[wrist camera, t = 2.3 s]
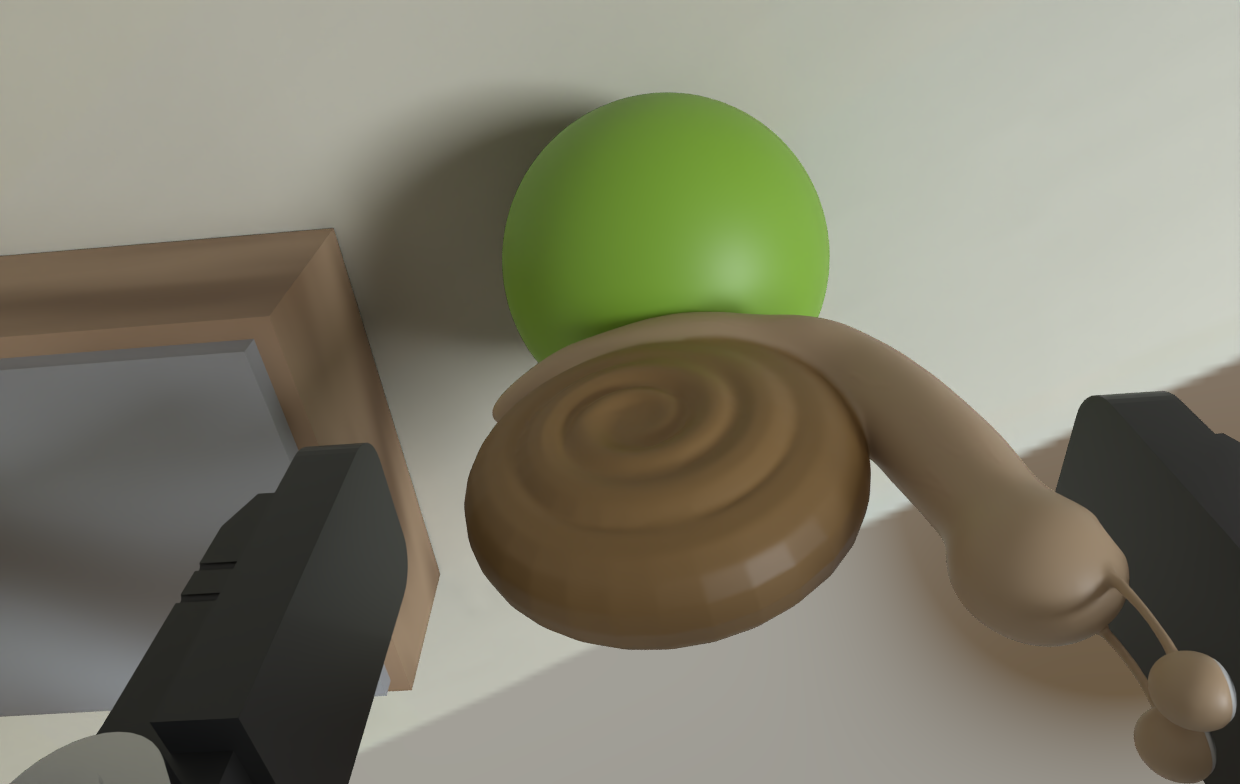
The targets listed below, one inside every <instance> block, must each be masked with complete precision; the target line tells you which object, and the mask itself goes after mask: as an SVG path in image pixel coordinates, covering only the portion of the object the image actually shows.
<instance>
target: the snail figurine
mask: <svg viewBox="0 0 1240 784" xmlns="http://www.w3.org/2000/svg"><path fill="white" fill-rule="evenodd" d="M502 271H503V281H504V288H505V293H506V297H507V302H508V305H509V309H510V312H511V315H512V317H513V320H514V323H515V325H516V327H517V329H518V332H519V334H520V336H521V338H522V339H523V341H524V343H525V345H526V346H527V348H528V350H529V351H530V353H531V354H532V355H533V357H534V358H535V360H536V361H537V362H538V364H537V365H535V366H534V367H533V368H531V369H530V370H529V371H528V372H526V373H525V374H524V375H523V376H521V377H520V378H519V379H518V380H517V381H515V382H514V383H513V384H512V385H511V386H510V387H509V388H508V389H507V390H506V391H505V392H504V393H503V394H502V395H501V397H500V398H499V399H498V401H497V402H496V404H495V406H494V408H493V418H494V419H495V421H496V422H498V423H497V424H496V425H495V427H494V428H493V429H492V431H491V432H490V434H489V435H488V436H487V438H486V439H485V441H484V442H483V444H482V446H481V448H480V450H479V452H478V454H477V457H476V459H475V461H474V464H473V466H472V469H471V471H470V474H469V477H468V482H467V489H466V495H465V503H464V509H465V518H466V525H467V532H468V538H469V542H470V545H471V548H472V551H473V553H474V555H475V557H476V559H477V562H478V564H479V566H480V568H481V570H482V572H483V573H484V575H485V576H486V577H487V579H488V580H489V581H490V582H491V584H492V585H493V586H494V587H495V588H496V589H497V591H498V592H499V593H500V594H501V595H502V596H503V597H504V598H505V600H506V601H507V602H508V603H509V604H510V605H511V606H512V607H514V608H515V609H516V610H518V611H519V612H521V613H522V614H524V615H525V616H527V617H528V618H530V619H531V620H533V621H534V622H536V623H537V624H539V625H541V626H543V627H545V628H547V629H549V630H552V631H554V632H557V633H559V634H562V635H565V636H567V637H570V638H573V639H575V640H578V641H582V642H586V643H591V644H596V645H602V646H608V647H614V648H620V649H628V650H649V649H650V650H658V649H659V650H662V649H676V648H682V647H688V646H693V645H699V644H705V643H711V642H715V641H718V640H721V639H724V638H727V637H730V636H733V635H736V634H739V633H741V632H745V631H747V630H750V629H753V628H755V627H758V626H759V625H761V624H763V623H765V622H767V621H768V620H770V619H772V618H774V617H776V616H777V615H779V614H781V613H783V612H785V611H786V610H788V609H790V608H791V607H793V606H795V605H796V604H797V603H799V602H800V601H801V600H803V599H804V598H805V597H806V596H807V595H808V594H809V593H811V592H812V591H813V590H814V589H816V588H817V587H818V586H819V585H820V584H821V583H822V582H824V581H825V580H826V579H827V578H828V577H829V576H831V574H832V573H833V572H834V571H835V569H836V568H837V567H838V565H839V564H840V563H841V561H842V560H843V558H844V557H845V556H846V554H847V553H848V552H849V550H850V549H851V548H852V546H853V544H854V542H855V540H856V537H857V535H858V532H859V530H860V527H861V524H862V522H863V519H864V517H865V514H866V510H867V506H868V502H869V496H870V480H871V468H870V460H869V459H871V460H872V461H873V462H874V463H875V464H876V465H877V466H878V467H879V468H880V469H881V470H882V471H883V472H884V473H885V474H886V475H887V477H888V478H889V479H890V480H891V481H892V482H893V483H894V484H895V485H896V486H897V488H898V489H899V490H900V491H901V492H902V493H903V494H904V495H905V496H906V497H907V498H908V499H909V501H910V502H911V503H912V504H913V505H914V506H915V507H916V508H917V509H918V510H919V512H920V513H921V514H922V515H923V516H924V517H925V519H926V520H927V521H928V522H929V523H930V524H931V526H932V527H933V528H934V529H935V530H936V531H937V533H938V534H939V535H940V536H941V538H942V540H943V541H944V544H945V548H946V563H947V570H948V575H949V579H950V582H951V584H952V587H953V589H954V591H955V593H956V595H957V597H958V598H959V600H960V601H961V603H962V604H963V605H964V607H965V608H966V609H967V610H968V611H969V612H970V613H971V614H972V615H973V616H974V617H975V618H976V619H977V620H978V621H980V622H981V623H982V624H984V625H985V626H987V627H989V628H990V629H992V630H993V631H995V632H997V633H999V634H1001V635H1003V636H1005V637H1007V638H1010V639H1012V640H1015V641H1018V642H1021V643H1025V644H1030V645H1035V646H1062V645H1068V644H1073V643H1076V642H1079V641H1082V640H1084V639H1087V638H1089V637H1091V636H1093V635H1095V634H1098V635H1100V636H1101V637H1103V638H1104V639H1105V640H1106V641H1107V642H1108V644H1109V645H1110V646H1111V647H1112V648H1113V649H1114V650H1115V651H1116V652H1117V653H1118V655H1119V656H1120V657H1121V659H1122V660H1123V661H1124V662H1125V663H1126V665H1127V666H1128V668H1129V669H1130V671H1131V672H1132V673H1133V675H1134V676H1135V678H1136V679H1137V681H1138V683H1139V684H1140V686H1141V688H1142V689H1143V691H1144V693H1145V695H1146V697H1147V699H1148V701H1149V703H1150V705H1151V707H1152V708H1151V709H1149V710H1147V711H1146V712H1145V713H1143V714H1142V715H1141V717H1140V718H1139V719H1138V721H1137V723H1136V725H1135V730H1134V742H1135V746H1136V749H1137V751H1138V753H1139V755H1140V757H1141V759H1142V760H1143V761H1144V763H1146V765H1147V766H1148V767H1149V768H1150V769H1151V770H1153V771H1154V772H1155V773H1157V774H1158V775H1160V776H1161V777H1163V778H1165V779H1168V780H1171V781H1174V782H1178V783H1196V782H1200V781H1202V780H1204V779H1206V778H1207V777H1208V776H1209V775H1210V774H1211V773H1212V772H1213V770H1214V768H1215V765H1216V759H1217V753H1216V746H1215V742H1214V738H1213V736H1212V734H1211V731H1216V730H1219V729H1222V728H1223V727H1225V726H1226V725H1227V724H1228V723H1229V722H1230V721H1231V720H1232V719H1233V718H1234V716H1235V713H1236V707H1237V698H1236V692H1235V688H1234V684H1233V682H1232V680H1231V678H1230V676H1229V674H1228V673H1227V671H1226V670H1225V669H1224V667H1223V666H1222V665H1221V664H1220V663H1219V662H1218V661H1216V660H1215V659H1213V658H1211V657H1210V656H1208V655H1206V654H1203V653H1200V652H1196V651H1178V650H1177V648H1176V647H1175V645H1174V643H1173V642H1172V640H1171V639H1170V637H1169V636H1168V634H1167V633H1166V632H1165V630H1164V629H1163V628H1162V626H1161V625H1160V624H1159V622H1158V621H1157V619H1156V618H1155V617H1154V615H1153V614H1152V613H1151V611H1150V610H1149V609H1148V608H1147V606H1146V605H1145V604H1144V603H1143V602H1142V600H1141V599H1140V598H1139V597H1138V596H1137V595H1136V593H1135V592H1134V591H1133V590H1132V589H1131V588H1130V587H1129V567H1128V563H1127V559H1126V557H1125V555H1124V554H1123V552H1122V551H1121V550H1120V548H1119V547H1118V546H1117V545H1116V543H1115V542H1114V541H1113V540H1112V538H1111V537H1110V536H1109V535H1108V533H1107V532H1106V531H1105V529H1104V528H1103V526H1102V525H1101V524H1100V522H1099V521H1098V519H1097V518H1096V516H1095V515H1094V514H1093V513H1092V512H1090V511H1089V510H1088V509H1086V508H1085V507H1083V506H1081V505H1079V504H1078V503H1076V502H1074V501H1072V500H1070V499H1068V498H1066V497H1064V496H1062V495H1060V494H1058V493H1056V492H1055V491H1053V490H1051V489H1050V488H1048V487H1047V486H1046V485H1044V484H1043V483H1042V482H1041V481H1040V480H1039V479H1038V478H1037V477H1036V476H1035V475H1034V474H1033V473H1032V472H1031V471H1030V470H1029V468H1028V467H1027V466H1026V465H1025V464H1024V462H1023V461H1022V460H1021V459H1020V457H1019V456H1018V455H1017V454H1016V452H1015V451H1014V450H1013V449H1012V448H1011V446H1010V445H1009V444H1008V443H1007V442H1006V441H1005V439H1004V438H1003V437H1002V436H1001V435H1000V434H999V433H998V432H997V431H996V430H995V429H994V428H993V427H992V426H991V425H990V424H989V423H988V422H987V421H986V420H985V419H984V418H983V417H981V416H980V415H979V414H978V413H977V412H976V411H975V410H974V409H973V408H972V407H970V406H969V405H968V404H967V403H966V402H965V401H964V400H963V399H961V398H960V397H959V396H958V395H957V394H956V393H954V392H953V391H952V390H951V389H950V388H949V387H947V386H946V385H945V384H944V383H943V382H941V381H940V380H939V379H938V378H936V377H935V376H934V375H932V374H931V373H930V372H928V371H927V370H926V369H924V368H923V367H921V366H920V365H918V364H917V363H916V362H914V361H913V360H911V359H910V358H908V357H907V356H905V355H904V354H902V353H901V352H899V351H897V350H896V349H894V348H892V347H891V346H889V345H887V344H885V343H883V342H881V341H879V340H877V339H875V338H873V337H871V336H869V335H867V334H865V333H863V332H861V331H859V330H857V329H854V328H852V327H850V326H847V325H845V324H842V323H839V322H835V321H832V320H828V319H823V318H818V316H819V314H820V311H821V308H822V304H823V301H824V297H825V293H826V288H827V282H828V275H829V239H828V231H827V226H826V221H825V216H824V212H823V209H822V206H821V203H820V200H819V197H818V195H817V192H816V190H815V188H814V186H813V183H812V181H811V180H810V178H809V176H808V174H807V172H806V171H805V169H804V167H803V166H802V164H801V163H800V161H799V160H798V159H797V157H796V156H795V155H794V153H793V152H792V151H791V150H790V149H789V148H788V146H787V145H786V144H785V143H784V142H783V141H782V140H781V139H780V138H779V137H778V136H777V135H776V134H775V133H773V132H772V131H771V130H770V129H769V128H767V127H766V126H765V125H764V124H762V123H761V122H759V121H758V120H756V119H755V118H753V117H752V116H750V115H748V114H747V113H745V112H743V111H741V110H739V109H737V108H735V107H733V106H731V105H728V104H726V103H723V102H720V101H717V100H714V99H710V98H707V97H702V96H698V95H692V94H684V93H650V94H642V95H637V96H632V97H628V98H624V99H620V100H617V101H614V102H611V103H609V104H606V105H604V106H601V107H599V108H597V109H595V110H593V111H591V112H589V113H587V114H586V115H584V116H582V117H581V118H579V119H578V120H576V121H575V122H573V123H572V124H570V125H569V126H568V127H566V128H565V129H564V130H563V131H561V132H560V133H559V134H558V135H557V136H556V137H555V138H554V139H553V140H552V141H551V142H550V143H549V144H548V145H547V146H546V147H545V148H544V149H543V150H542V152H541V153H540V154H539V155H538V156H537V158H536V159H535V161H534V162H533V163H532V165H531V166H530V168H529V169H528V171H527V172H526V174H525V176H524V178H523V179H522V181H521V183H520V185H519V187H518V189H517V192H516V194H515V196H514V199H513V202H512V204H511V207H510V210H509V214H508V218H507V222H506V226H505V231H504V238H503V248H502ZM1126 599H1127V600H1128V601H1129V602H1130V603H1131V604H1132V605H1133V606H1134V607H1135V608H1136V609H1137V610H1138V611H1139V613H1140V614H1141V615H1142V616H1143V618H1144V619H1145V620H1146V621H1147V623H1148V624H1149V626H1150V627H1151V628H1152V630H1153V632H1154V633H1155V635H1156V636H1157V638H1158V639H1159V641H1160V643H1161V645H1162V646H1163V648H1164V650H1165V652H1166V655H1164V656H1163V657H1161V658H1160V659H1158V660H1157V661H1156V662H1155V664H1154V665H1153V666H1152V668H1151V670H1150V672H1149V676H1148V680H1147V678H1146V677H1145V675H1144V674H1143V672H1142V671H1141V669H1140V667H1139V666H1138V665H1137V663H1136V662H1135V660H1134V659H1133V658H1132V657H1131V655H1130V654H1129V653H1128V651H1127V650H1126V649H1125V647H1124V646H1123V645H1122V643H1121V642H1120V641H1119V640H1118V639H1117V637H1116V636H1115V635H1114V634H1113V633H1112V632H1111V631H1110V629H1109V627H1108V624H1109V623H1110V622H1112V620H1113V619H1114V618H1115V617H1116V616H1117V615H1118V613H1119V612H1120V610H1121V609H1122V607H1123V605H1124V602H1125V600H1126Z"/></svg>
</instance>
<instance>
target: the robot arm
mask: <svg viewBox="0 0 1240 784" xmlns="http://www.w3.org/2000/svg"><path fill="white" fill-rule="evenodd" d="M1055 492H1056V493H1058V494H1060V495H1062V496H1064V497H1066V498H1068V499H1070V500H1072V501H1074V502H1076V503H1078V504H1079V505H1081V506H1083V507H1085V508H1086V509H1088V510H1089V511H1090V512H1092V513H1093V514H1094V515H1095V516H1096V518H1097V519H1098V521H1099V522H1100V524H1101V525H1102V526H1103V528H1104V529H1105V531H1106V532H1107V533H1108V535H1109V536H1110V537H1111V538H1112V540H1113V541H1114V542H1115V543H1116V545H1117V546H1118V547H1119V548H1120V550H1121V551H1122V552H1123V554H1124V555H1125V557H1126V559H1127V563H1128V567H1129V587H1130V588H1131V589H1132V590H1133V591H1134V592H1135V593H1136V595H1137V596H1138V597H1139V598H1140V599H1141V600H1142V602H1143V603H1144V604H1145V605H1146V606H1147V608H1148V609H1149V610H1150V611H1151V613H1152V614H1153V615H1154V617H1155V618H1156V619H1157V621H1158V622H1159V624H1160V625H1161V626H1162V628H1163V629H1164V630H1165V632H1166V633H1167V634H1168V636H1169V637H1170V639H1171V640H1172V642H1173V643H1174V645H1175V647H1176V648H1177V650H1178V651H1196V652H1200V653H1203V654H1206V655H1208V656H1210V657H1211V658H1213V659H1215V660H1216V661H1218V662H1219V663H1220V664H1221V665H1222V666H1223V667H1224V669H1225V670H1226V671H1227V673H1228V674H1229V676H1230V678H1231V680H1232V682H1233V684H1234V688H1235V692H1236V698H1237V707H1236V713H1235V716H1234V718H1233V719H1232V720H1231V721H1230V722H1229V723H1228V724H1227V725H1226V726H1225V727H1223V728H1222V729H1219V730H1216V731H1211V734H1212V736H1213V738H1214V742H1215V746H1216V753H1217V759H1216V765H1215V768H1214V770H1213V772H1212V773H1211V774H1210V775H1209V776H1208V777H1207V778H1206V779H1204V780H1203V781H1204V783H1205V784H1240V442H1238V441H1236V440H1235V439H1233V438H1231V437H1229V436H1227V435H1226V434H1224V433H1222V434H1215V433H1214V432H1213V431H1211V430H1210V429H1209V428H1208V427H1207V426H1206V425H1205V424H1204V423H1203V422H1202V421H1201V420H1200V419H1199V418H1198V417H1197V416H1196V415H1195V414H1194V413H1193V412H1192V411H1191V410H1190V409H1189V408H1188V407H1187V406H1186V405H1185V404H1184V403H1183V402H1182V401H1181V400H1179V399H1178V398H1177V397H1176V396H1175V395H1173V394H1171V393H1169V392H1166V391H1155V392H1140V393H1125V394H1111V395H1096V396H1091V397H1088V398H1087V399H1086V400H1084V402H1083V403H1082V404H1081V406H1080V408H1079V410H1078V413H1077V416H1076V419H1075V423H1074V426H1073V430H1072V434H1071V437H1070V441H1069V444H1068V448H1067V452H1066V455H1065V459H1064V462H1063V466H1062V470H1061V473H1060V477H1059V480H1058V484H1057V487H1056V491H1055ZM199 565H200V569H199V571H194V573H193V575H192V576H191V578H190V580H189V581H188V583H187V585H186V586H185V588H184V590H183V591H182V593H181V602H180V603H175V605H174V606H173V608H172V610H171V611H170V613H169V615H168V617H167V618H166V620H165V622H164V623H163V625H162V627H161V628H160V630H159V632H158V633H157V635H156V637H155V638H154V640H153V642H152V643H151V645H150V647H149V648H148V650H147V652H146V653H145V655H144V657H143V658H142V660H141V662H140V663H139V665H138V667H137V668H136V670H135V672H134V673H133V675H132V677H131V678H130V680H129V682H128V683H127V685H126V687H125V688H124V690H123V692H122V694H121V695H120V697H119V699H118V700H117V702H116V704H115V705H114V707H113V709H112V710H111V712H110V714H109V715H108V717H107V719H106V720H105V722H104V724H103V725H102V727H101V728H100V730H99V731H98V733H97V734H96V735H93V736H89V737H86V738H83V739H80V740H78V741H75V742H72V743H70V744H68V745H66V746H64V747H62V748H60V749H57V750H56V751H54V752H52V753H51V754H49V755H47V756H46V757H44V758H42V759H40V760H39V761H38V762H36V763H35V764H34V765H32V766H31V767H29V768H28V769H27V770H25V771H24V772H23V773H22V774H20V775H19V776H18V777H17V778H16V779H15V780H14V781H12V782H11V783H10V784H348V783H349V780H350V776H351V773H352V770H353V766H354V763H355V760H356V756H357V753H358V749H359V746H360V743H361V739H362V736H363V733H364V729H365V726H366V722H367V719H368V716H369V712H370V709H371V705H372V702H373V699H374V695H375V692H376V688H377V685H378V682H379V678H380V675H381V671H382V668H383V665H384V661H385V658H386V654H387V651H388V648H389V644H390V641H391V638H392V634H393V631H394V627H395V624H396V621H397V617H398V614H399V610H400V607H401V604H402V600H403V597H404V593H405V589H406V584H407V575H408V556H407V547H406V542H405V538H404V534H403V531H402V528H401V525H400V522H399V519H398V515H397V512H396V509H395V506H394V503H393V500H392V496H391V493H390V490H389V487H388V484H387V481H386V477H385V474H384V471H383V468H382V465H381V462H380V459H379V456H378V453H377V451H376V450H375V448H374V447H373V446H372V445H371V444H370V443H354V444H339V445H325V446H310V447H303V448H301V449H300V450H299V451H298V452H297V453H296V455H295V456H294V458H293V460H292V462H291V464H290V466H289V467H288V469H287V471H286V473H285V475H284V477H283V478H282V480H281V482H280V484H279V486H278V488H277V489H276V491H275V493H260V494H257V495H256V496H255V497H254V498H253V499H251V500H250V501H249V502H248V503H247V504H246V505H245V506H244V507H242V508H241V509H240V510H239V511H238V512H237V513H236V514H235V515H234V516H232V517H231V518H230V519H229V520H228V521H227V522H226V523H225V524H223V525H222V526H221V528H220V529H219V531H218V533H217V534H216V536H215V538H214V540H213V541H212V543H211V545H210V546H209V548H208V550H207V551H206V553H205V555H204V556H203V558H202V560H201V561H200V563H199ZM1108 627H1109V629H1110V631H1111V632H1112V633H1113V634H1114V635H1115V636H1116V637H1117V639H1118V640H1119V641H1120V642H1121V643H1122V645H1123V646H1124V647H1125V649H1126V650H1127V651H1128V653H1129V654H1130V655H1131V657H1132V658H1133V659H1134V660H1135V662H1136V663H1137V665H1138V666H1139V667H1140V669H1141V671H1142V672H1143V674H1144V675H1145V677H1146V678H1147V680H1148V676H1149V672H1150V670H1151V668H1152V666H1153V665H1154V664H1155V662H1156V661H1157V660H1158V659H1160V658H1161V657H1163V656H1164V655H1166V652H1165V650H1164V648H1163V646H1162V645H1161V643H1160V641H1159V639H1158V638H1157V636H1156V635H1155V633H1154V632H1153V630H1152V628H1151V627H1150V626H1149V624H1148V623H1147V621H1146V620H1145V619H1144V618H1143V616H1142V615H1141V614H1140V613H1139V611H1138V610H1137V609H1136V608H1135V607H1134V606H1133V605H1132V604H1131V603H1130V602H1129V601H1128V600H1127V599H1126V600H1125V602H1124V605H1123V607H1122V609H1121V610H1120V612H1119V613H1118V615H1117V616H1116V617H1115V618H1114V619H1113V620H1112V622H1110V623H1109V624H1108Z"/></svg>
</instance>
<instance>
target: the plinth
mask: <svg viewBox="0 0 1240 784" xmlns="http://www.w3.org/2000/svg"><path fill="white" fill-rule="evenodd" d="M354 443H370V444H371V445H372V446H373V447H374V448H375V450H376V451H377V453H378V456H379V459H380V462H381V465H382V468H383V471H384V474H385V477H386V481H387V484H388V487H389V490H390V493H391V496H392V500H393V503H394V506H395V509H396V512H397V515H398V519H399V522H400V525H401V528H402V531H403V534H404V538H405V542H406V547H407V556H408V575H407V584H406V589H405V593H404V597H403V600H402V604H401V607H400V610H399V614H398V617H397V621H396V624H395V627H394V631H393V634H392V638H391V641H390V644H389V648H388V651H387V654H386V658H385V661H384V665H383V668H382V671H381V675H380V678H379V682H378V685H377V688H376V692H375V695H374V696H387V692H388V691H404V690H412V687H413V683H414V679H415V675H416V671H417V666H418V662H419V658H420V654H421V650H422V646H423V642H424V638H425V634H426V630H427V626H428V621H429V617H430V613H431V609H432V605H433V601H434V597H435V593H436V589H437V585H438V581H439V576H440V572H439V569H438V566H437V563H436V559H435V556H434V553H433V550H432V546H431V543H430V540H429V537H428V533H427V530H426V527H425V524H424V520H423V517H422V514H421V511H420V507H419V504H418V501H417V498H416V494H415V491H414V488H413V485H412V481H411V478H410V475H409V472H408V468H407V465H406V462H405V459H404V455H403V452H402V449H401V446H400V442H399V439H398V436H397V433H396V429H395V426H394V423H393V420H392V416H391V413H390V410H389V407H388V403H387V400H386V397H385V394H384V390H383V387H382V384H381V381H380V378H379V374H378V371H377V368H376V365H375V361H374V358H373V355H372V352H371V348H370V345H369V342H368V339H367V335H366V332H365V329H364V326H363V322H362V319H361V316H360V313H359V309H358V306H357V303H356V300H355V296H354V293H353V290H352V287H351V283H350V280H349V277H348V274H347V270H346V267H345V264H344V261H343V257H342V254H341V251H340V248H339V244H338V241H337V238H336V235H335V231H334V228H330V229H318V230H307V231H295V232H283V233H271V234H259V235H247V236H235V237H223V238H211V239H200V240H188V241H176V242H164V243H152V244H140V245H128V246H116V247H104V248H93V249H81V250H69V251H57V252H45V253H33V254H21V255H9V256H0V717H2V716H20V715H38V714H57V713H75V712H94V711H111V710H112V709H113V707H114V705H115V704H116V702H117V700H118V699H119V697H120V695H121V694H122V692H123V690H124V688H125V687H126V685H127V683H128V682H129V680H130V678H131V677H132V675H133V673H134V672H135V670H136V668H137V667H138V665H139V663H140V662H141V660H142V658H143V657H144V655H145V653H146V652H147V650H148V648H149V647H150V645H151V643H152V642H153V640H154V638H155V637H156V635H157V633H158V632H159V630H160V628H161V627H162V625H163V623H164V622H165V620H166V618H167V617H168V615H169V613H170V611H171V610H172V608H173V606H174V605H175V603H180V602H181V593H182V591H183V590H184V588H185V586H186V585H187V583H188V581H189V580H190V578H191V576H192V575H193V573H194V571H199V569H200V565H199V563H200V561H201V560H202V558H203V556H204V555H205V553H206V551H207V550H208V548H209V546H210V545H211V543H212V541H213V540H214V538H215V536H216V534H217V533H218V531H219V529H220V528H221V526H222V525H223V524H225V523H226V522H227V521H228V520H229V519H230V518H231V517H232V516H234V515H235V514H236V513H237V512H238V511H239V510H240V509H241V508H242V507H244V506H245V505H246V504H247V503H248V502H249V501H250V500H251V499H253V498H254V497H255V496H256V495H257V494H260V493H275V491H276V489H277V488H278V486H279V484H280V482H281V480H282V478H283V477H284V475H285V473H286V471H287V469H288V467H289V466H290V464H291V462H292V460H293V458H294V456H295V455H296V453H297V452H298V451H299V450H300V449H301V448H303V447H310V446H325V445H339V444H354Z"/></svg>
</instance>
